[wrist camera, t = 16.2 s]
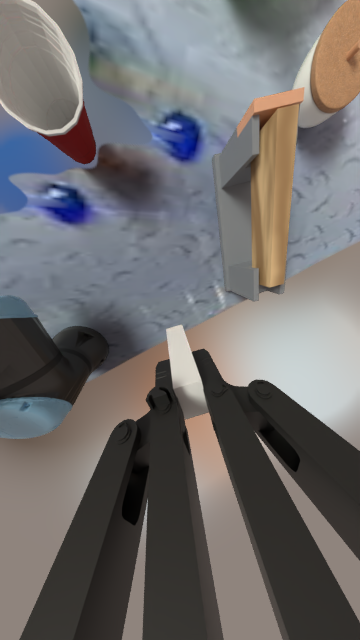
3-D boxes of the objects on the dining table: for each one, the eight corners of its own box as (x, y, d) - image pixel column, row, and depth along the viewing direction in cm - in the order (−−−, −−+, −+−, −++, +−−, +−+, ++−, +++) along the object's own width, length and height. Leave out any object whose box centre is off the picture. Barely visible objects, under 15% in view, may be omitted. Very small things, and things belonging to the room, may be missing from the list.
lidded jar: (307, 42, 26) (379, -61, 18) (336, 95, 30) (408, 29, 21) (268, 114, 29) (313, 55, 21) (298, 154, 33) (348, 118, 24)
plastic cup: (116, 124, 27) (88, 35, 16) (104, 191, 30) (75, 154, 20) (49, 81, 24) (-42, -66, 13) (45, 160, 27) (-29, 96, 16)
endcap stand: (225, 290, 43) (251, 303, 31) (211, 159, 31) (247, 94, 19) (252, 282, 44) (289, 292, 31) (250, 149, 31) (311, 79, 19)
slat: (252, 282, 34) (270, 287, 29) (250, 142, 24) (277, 108, 18) (264, 279, 34) (284, 283, 29) (267, 138, 24) (299, 103, 18)
